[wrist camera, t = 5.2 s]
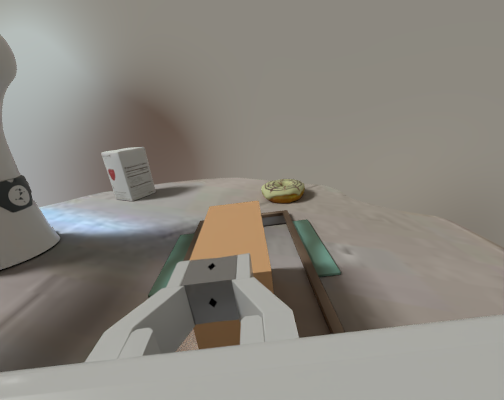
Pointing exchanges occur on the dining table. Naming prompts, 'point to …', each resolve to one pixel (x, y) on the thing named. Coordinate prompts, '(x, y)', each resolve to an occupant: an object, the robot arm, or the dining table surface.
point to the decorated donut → (283, 190)
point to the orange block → (228, 244)
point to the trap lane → (308, 250)
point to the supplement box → (129, 173)
